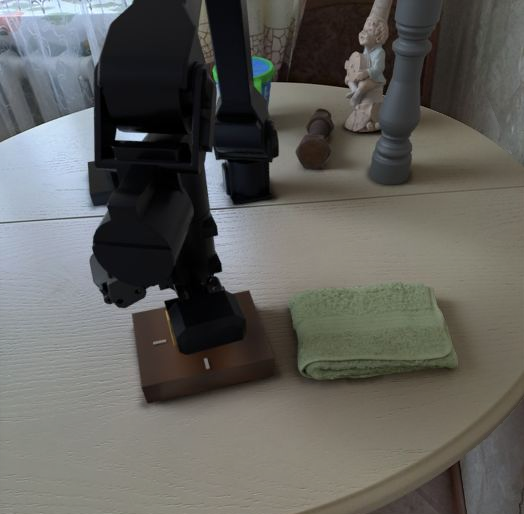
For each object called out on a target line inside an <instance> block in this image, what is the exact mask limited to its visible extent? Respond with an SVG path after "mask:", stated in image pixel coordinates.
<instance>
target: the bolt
mask: <svg viewBox="0 0 524 514" xmlns="http://www.w3.org/2000/svg"><path fill="white" fill-rule="evenodd" d="M305 129H306V132H307V134H305V135H303V137H302V139H301V141H300V142H299V144H298V146H297V147H296V149H295V155H296V157H297V159H298V161H299V163H300V165H301V166H302V168H305V169H308V170H320V169H322V168H323V167H324V166H325V164H326V163H327V162H328V160H329V159H330V157H331V155H332V149H331V147H330V145H329V143H328V141H327V140H328V139H329V138H330V136H331V134H332V133H333V131H334V130H335V124H334V121H333V119H332V113H331V112H330V111H329V110H327V109H325V108H317V109H316V110H315V111H314V112H312V114H311V116H310V117H309V119H308V121H307V123H306V124H305Z"/></svg>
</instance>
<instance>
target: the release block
mask: <svg viewBox="0 0 524 514" xmlns="http://www.w3.org/2000/svg"><path fill="white" fill-rule="evenodd" d="M87 174H88V175H87V177H88V189H89V197H90V200H91V202H92V206H93V207H98V206H103V205H107V202H108V200H109V198H110V197H111V195H112V193H113V192H114V191H115V190H117V189H118V187H119V186H120V184H119V179H118V175H117V171H116V170H108V169H97V168H96V167H95V164H94V160H91V161H87Z"/></svg>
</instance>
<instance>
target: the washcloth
mask: <svg viewBox="0 0 524 514" xmlns="http://www.w3.org/2000/svg"><path fill="white" fill-rule="evenodd" d="M288 307H289V309H290V316H291V320H292V329H294V331H295V333H296V336H297V341H298V345H297V353H296V354H297V369H298V372H299V373H300V375H301V376H303V377H305V378H309V379H313V380H314V379H315V380H318V381H320V380H322V381H324V380H336V379H337V378H340V379H342V378H343V379H346V378H350V379H365V378H372V377H376V376H377V377H378V376H383V375H390V374H391V375H392V374H397V373H409V372H414V371H420V370H421V371H422V370H426V369H428V368H430V369H439V368H440V369H442V368H447V369H448V368H449V369H450V370H451V369H453V368H456V367H458V363H459V360H458V355H457V353H456V350H455V349H454V345H453V341H452V337H451V335H450V331H449V326H448V324H447V322H446V320H445V317H444V314H443V312H442V310H441V309H440V308H439V306H438V303H437V301H436V297H435V289H434V287H432V286H428V285H425V284H424V283H421V284H420V283H406V282H405V283H402V282H392V283H387V284H383V283H381V284H380V285H379V284H375V285H366V286H363V285H362V286H357V287H355V286H352V287H342V288H336V287H330V288H323V289H316V290H309V289H308V290H305V291H304V292H299V293H295V294H293V295H292V296H291V297H290V298H289V299H288Z"/></svg>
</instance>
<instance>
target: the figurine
mask: <svg viewBox="0 0 524 514" xmlns="http://www.w3.org/2000/svg"><path fill="white" fill-rule="evenodd" d="M393 1H394V0H374V2H373V5H372V8H371V11H370V13H369V15H368V17H367V18H366V20H365V23H364V26H363V30H361V32H359V34H358V41H359V45H361V46H363V47H364V49H363V52H362V53H361V52H358V51H354V52H353V53H352V54H351V55H350V57H349V59H348V60H345V63H344V69H345V70H346V75H345V78H344V83H345V85H346V86H348V88H349V89H350V90H351V91H350V92H348V93H346V94H345V98H346V99H349V101H350V102H349V104H350V106H351V107H354V108H355V109H354V110H353V111H352V112H351V113H350V114H349V116H348V117H347V119H346V120H345V123H344V127H345V129H347V130H349V131H352V132H358V133H365V132H375V131H381V130H382V129H381V128H380V125H379V121H378V116H379V110H380V108H381V105H382V103H383V100H384V98H385V95H384V86H385V85H386V84H387V79H386V78H385V76H384V74H383V72H384V71H385V69H386V68H385V67H386V63H385V60H386V51H385V50H384V49H383V47H382V46H383V45H384V44H385V43H386V41H387V40H388V38H389V26H388V20H389V16H390V11H391V9H392V4H393Z"/></svg>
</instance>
